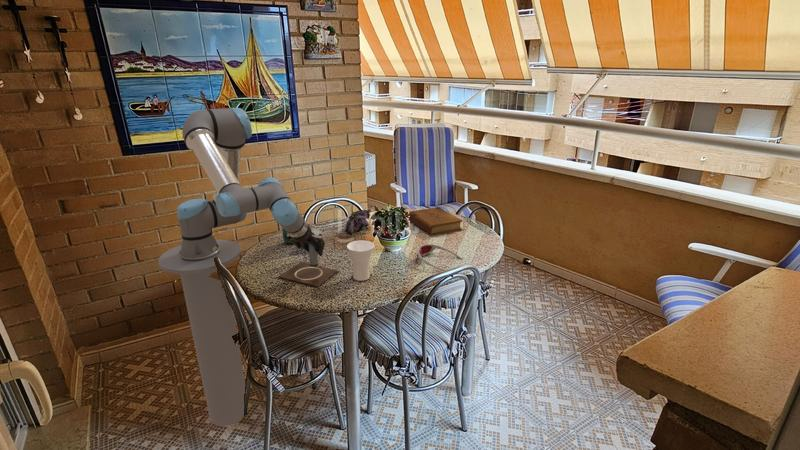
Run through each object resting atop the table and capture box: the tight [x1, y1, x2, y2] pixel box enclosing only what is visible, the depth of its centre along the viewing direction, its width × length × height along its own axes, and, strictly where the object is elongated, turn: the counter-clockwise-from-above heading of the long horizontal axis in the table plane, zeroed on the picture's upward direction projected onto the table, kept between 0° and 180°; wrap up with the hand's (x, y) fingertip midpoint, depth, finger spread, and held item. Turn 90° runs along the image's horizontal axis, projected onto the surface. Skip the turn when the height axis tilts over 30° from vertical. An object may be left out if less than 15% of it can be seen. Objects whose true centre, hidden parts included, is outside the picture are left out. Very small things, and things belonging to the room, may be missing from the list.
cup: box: [346, 239, 375, 282], centre depth 158 cm, size 10×10×14 cm
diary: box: [408, 206, 463, 237], centre depth 213 cm, size 23×19×6 cm
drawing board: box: [278, 262, 339, 288], centre depth 162 cm, size 18×14×1 cm
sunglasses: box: [416, 243, 462, 272], centre depth 174 cm, size 17×17×5 cm
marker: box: [308, 244, 319, 267], centre depth 159 cm, size 3×3×12 cm
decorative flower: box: [345, 209, 372, 235], centre depth 207 cm, size 14×12×15 cm
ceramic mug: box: [311, 228, 325, 239], centre depth 188 cm, size 11×8×8 cm
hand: (316, 252), depth 163 cm, fingers closed on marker, 3 cm apart
